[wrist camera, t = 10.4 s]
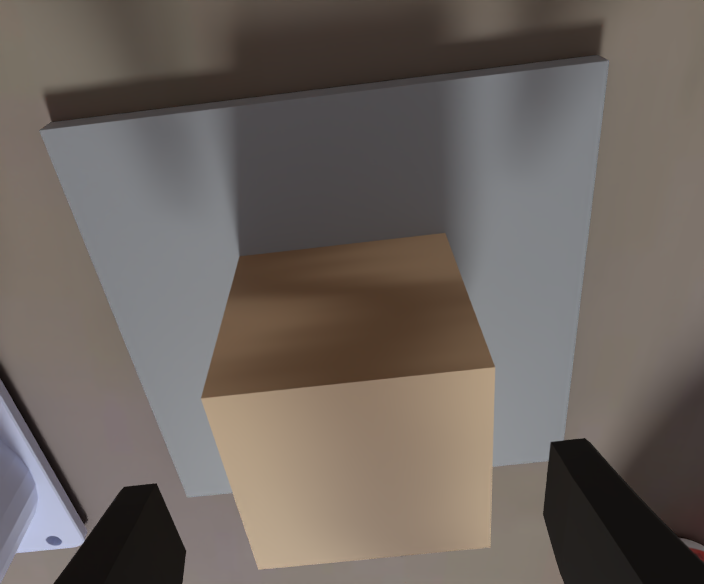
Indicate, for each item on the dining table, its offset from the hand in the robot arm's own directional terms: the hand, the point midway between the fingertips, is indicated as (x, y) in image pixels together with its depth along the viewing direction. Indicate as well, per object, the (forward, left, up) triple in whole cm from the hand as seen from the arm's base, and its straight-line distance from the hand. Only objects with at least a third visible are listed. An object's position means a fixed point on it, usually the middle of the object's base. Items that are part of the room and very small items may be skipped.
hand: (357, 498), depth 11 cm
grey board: (0, 0, -6) cm, 6 cm away
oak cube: (0, 0, -5) cm, 5 cm away
